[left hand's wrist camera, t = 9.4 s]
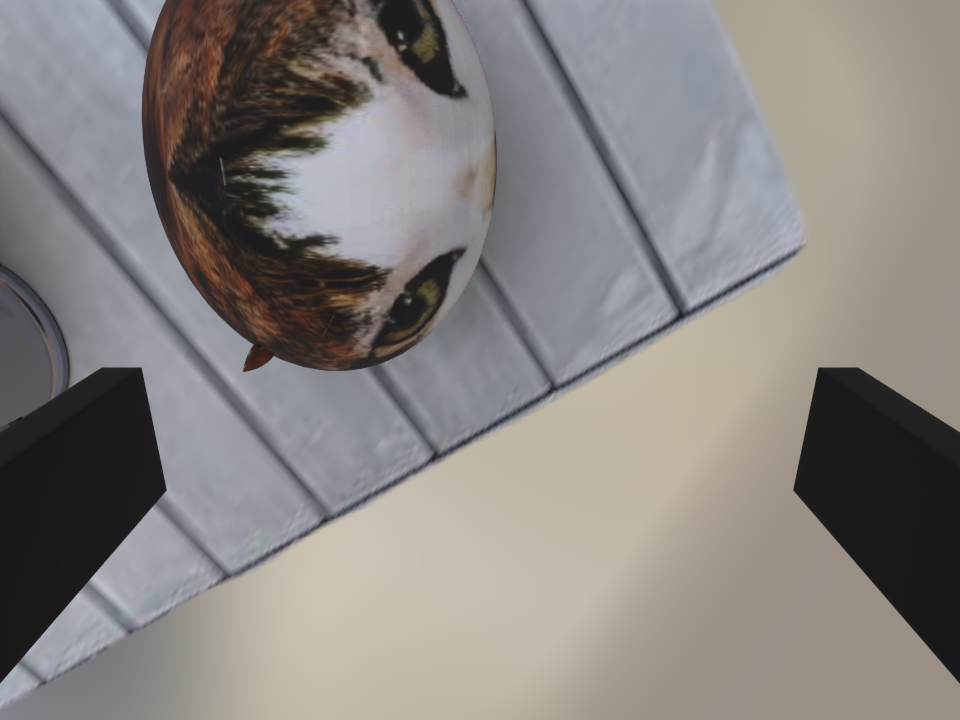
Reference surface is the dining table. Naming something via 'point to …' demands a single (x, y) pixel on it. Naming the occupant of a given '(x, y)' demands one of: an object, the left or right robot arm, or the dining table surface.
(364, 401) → the dining table surface
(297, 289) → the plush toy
